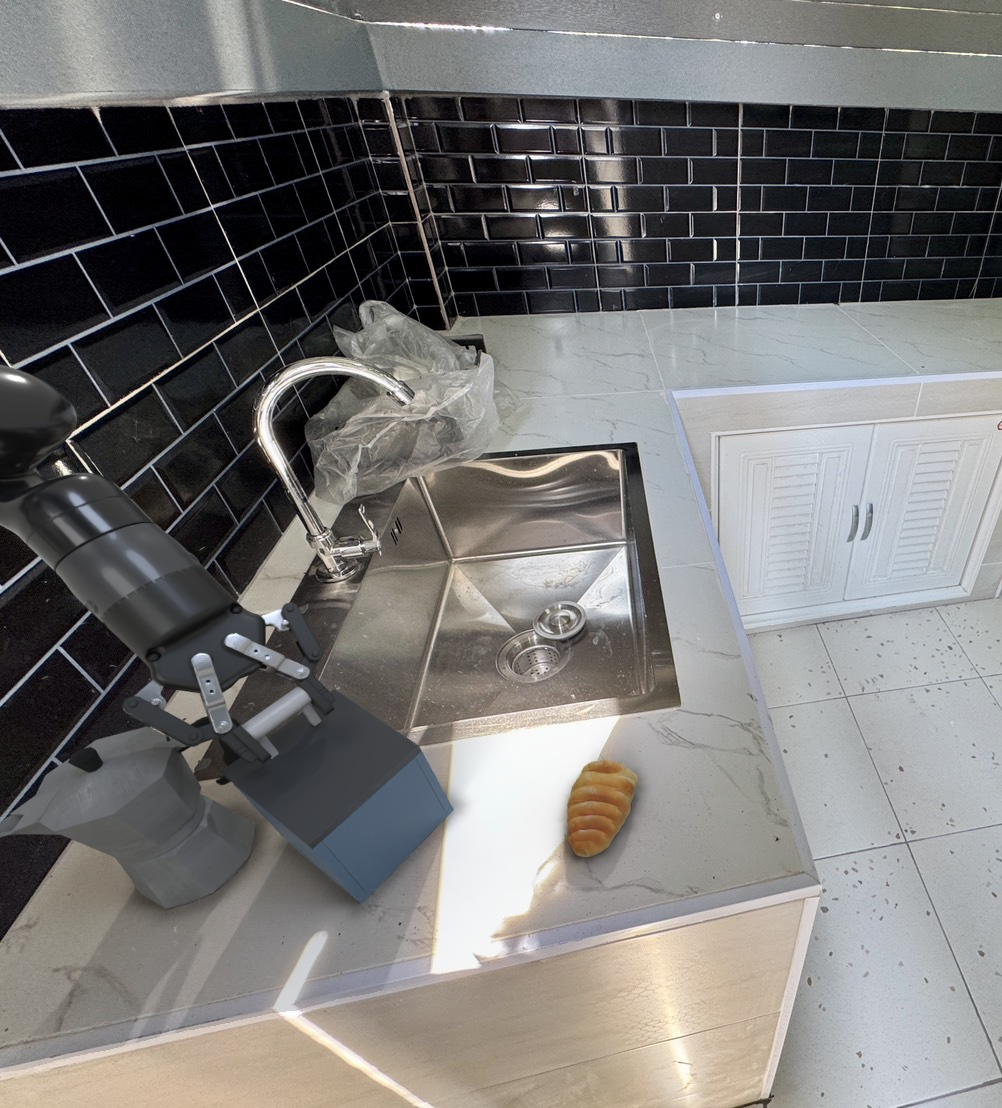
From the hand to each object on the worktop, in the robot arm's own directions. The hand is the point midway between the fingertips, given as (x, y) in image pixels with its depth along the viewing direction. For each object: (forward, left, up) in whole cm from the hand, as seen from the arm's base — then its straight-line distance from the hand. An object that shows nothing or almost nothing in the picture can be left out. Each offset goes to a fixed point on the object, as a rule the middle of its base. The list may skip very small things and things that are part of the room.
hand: (298, 735), depth 54 cm
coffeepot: (-11, +6, -14) cm, 19 cm away
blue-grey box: (+1, -2, -14) cm, 14 cm away
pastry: (+19, -17, -14) cm, 29 cm away
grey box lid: (+1, -2, -3) cm, 4 cm away
